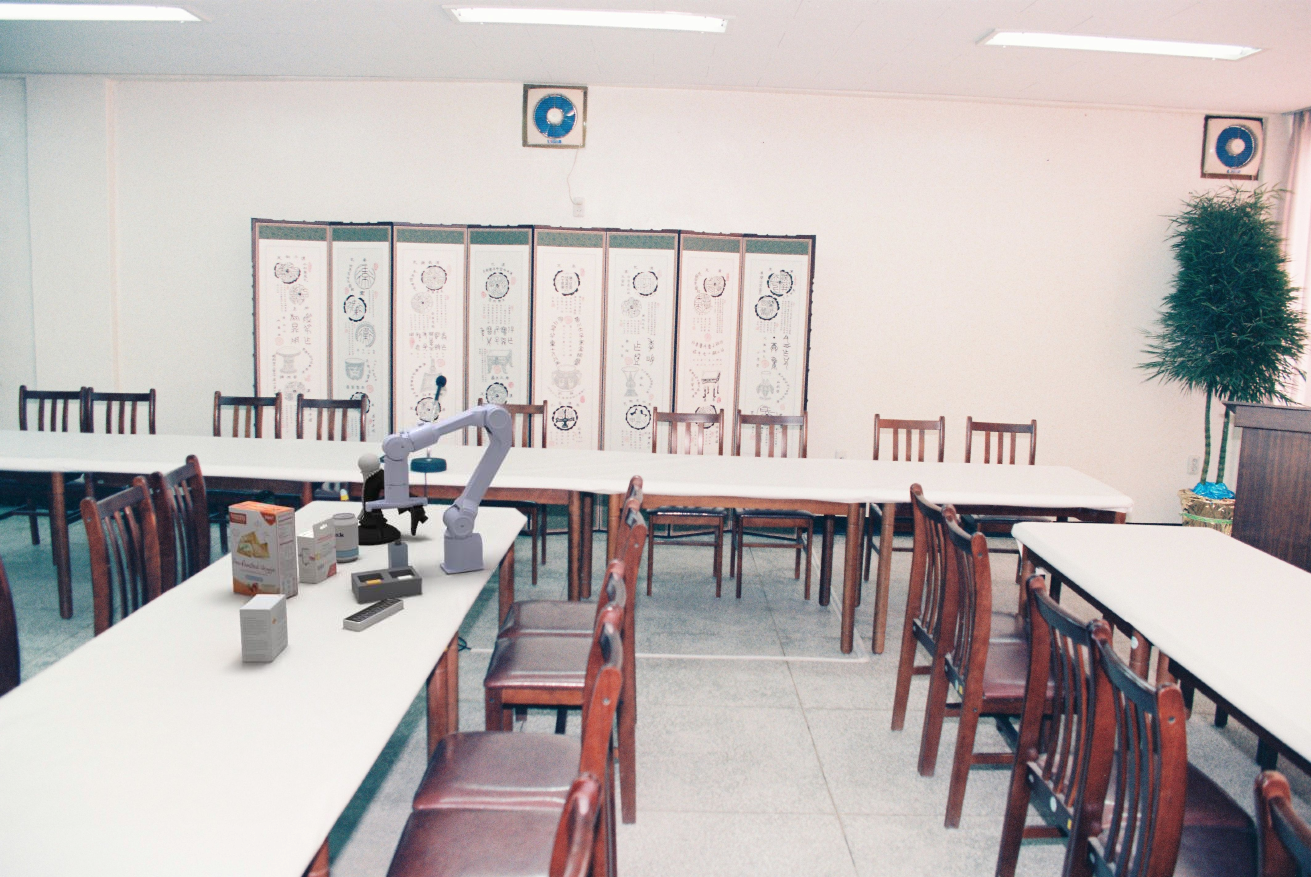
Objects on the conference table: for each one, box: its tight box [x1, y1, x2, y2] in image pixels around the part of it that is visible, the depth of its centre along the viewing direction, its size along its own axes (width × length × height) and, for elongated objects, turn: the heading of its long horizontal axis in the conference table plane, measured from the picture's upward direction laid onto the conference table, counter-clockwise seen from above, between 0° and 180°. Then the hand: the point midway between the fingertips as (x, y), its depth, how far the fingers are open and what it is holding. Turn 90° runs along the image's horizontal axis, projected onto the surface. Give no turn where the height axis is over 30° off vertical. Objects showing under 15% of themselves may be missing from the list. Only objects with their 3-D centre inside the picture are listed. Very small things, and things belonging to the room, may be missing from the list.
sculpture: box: [356, 452, 429, 547], centre depth 222 cm, size 15×24×25 cm, turn 88°
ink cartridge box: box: [296, 516, 338, 584], centre depth 189 cm, size 9×5×15 cm, turn 168°
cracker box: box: [228, 500, 299, 600], centre depth 176 cm, size 14×6×21 cm, turn 70°
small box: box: [239, 594, 289, 663], centre depth 147 cm, size 8×6×10 cm
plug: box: [387, 539, 409, 569], centre depth 193 cm, size 4×4×9 cm
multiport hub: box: [342, 597, 404, 632], centre depth 166 cm, size 4×14×2 cm, turn 160°
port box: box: [350, 565, 423, 604], centre depth 181 cm, size 14×10×4 cm
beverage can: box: [331, 512, 360, 563], centre depth 203 cm, size 7×7×12 cm
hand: (397, 536), depth 192 cm, fingers open, 7 cm apart
